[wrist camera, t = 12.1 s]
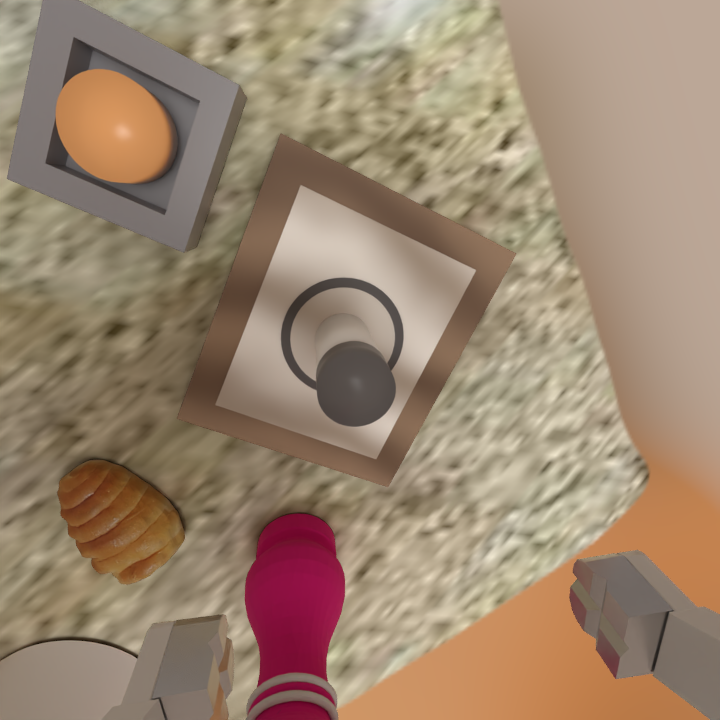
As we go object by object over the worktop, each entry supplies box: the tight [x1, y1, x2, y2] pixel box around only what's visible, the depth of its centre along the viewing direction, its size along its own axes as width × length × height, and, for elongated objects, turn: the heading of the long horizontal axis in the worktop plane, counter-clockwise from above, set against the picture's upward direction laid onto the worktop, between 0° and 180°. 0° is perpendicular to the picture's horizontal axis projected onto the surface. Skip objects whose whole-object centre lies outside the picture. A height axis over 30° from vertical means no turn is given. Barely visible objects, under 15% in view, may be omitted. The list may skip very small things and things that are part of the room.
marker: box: [315, 313, 396, 427], centre depth 25 cm, size 4×4×8 cm
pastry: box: [57, 460, 185, 585], centre depth 31 cm, size 9×7×4 cm
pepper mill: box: [245, 513, 345, 720], centre depth 27 cm, size 7×7×20 cm
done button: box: [56, 69, 178, 184], centre depth 22 cm, size 5×5×2 cm
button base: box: [7, 0, 247, 253], centre depth 23 cm, size 9×9×3 cm
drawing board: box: [177, 134, 516, 487], centre depth 29 cm, size 19×16×2 cm
